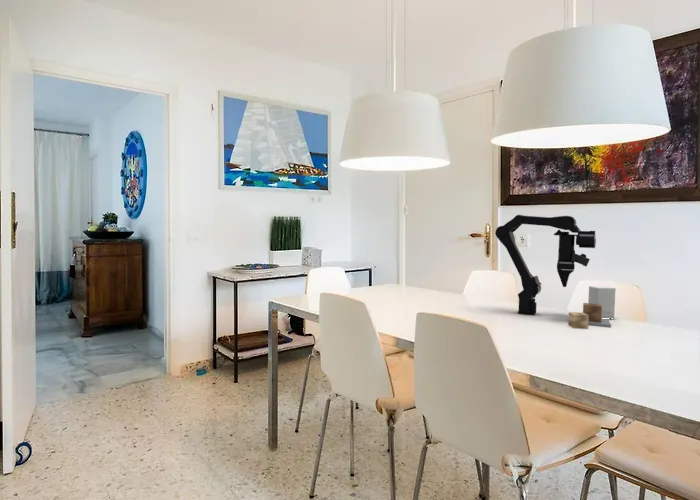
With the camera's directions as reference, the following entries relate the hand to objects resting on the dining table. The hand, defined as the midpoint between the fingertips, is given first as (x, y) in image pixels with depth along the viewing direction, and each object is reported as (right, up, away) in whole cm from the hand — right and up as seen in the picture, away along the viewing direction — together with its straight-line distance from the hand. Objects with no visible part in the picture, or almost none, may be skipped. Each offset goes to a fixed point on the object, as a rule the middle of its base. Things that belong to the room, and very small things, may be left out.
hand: (564, 285), depth 188 cm
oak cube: (-3, -14, -17) cm, 22 cm away
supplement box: (+16, -13, +2) cm, 21 cm away
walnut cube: (+6, -13, -9) cm, 17 cm away
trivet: (+6, -14, -9) cm, 17 cm away
